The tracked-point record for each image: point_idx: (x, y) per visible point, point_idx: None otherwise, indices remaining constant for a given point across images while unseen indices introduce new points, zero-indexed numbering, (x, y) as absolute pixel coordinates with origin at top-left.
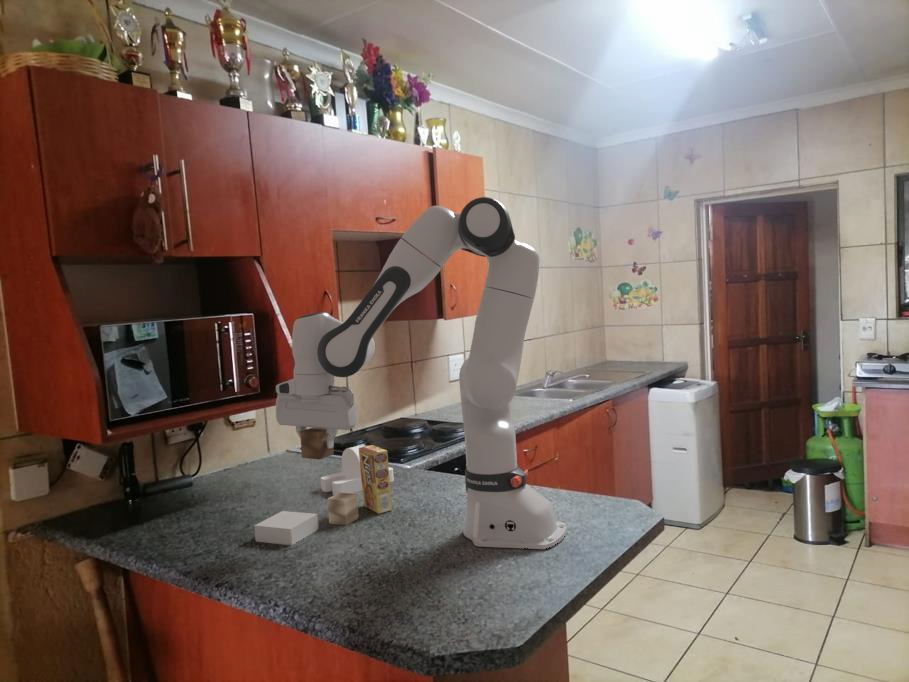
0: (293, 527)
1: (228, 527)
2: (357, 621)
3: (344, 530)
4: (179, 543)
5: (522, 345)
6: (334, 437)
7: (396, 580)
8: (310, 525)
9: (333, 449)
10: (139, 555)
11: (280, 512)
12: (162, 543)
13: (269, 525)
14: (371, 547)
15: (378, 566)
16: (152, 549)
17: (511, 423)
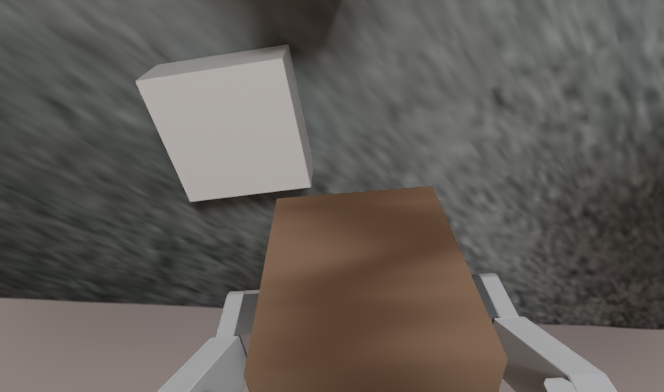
0: (307, 176)
1: (29, 138)
2: (622, 315)
3: (379, 18)
4: (60, 242)
5: None
6: (540, 333)
7: (658, 212)
8: (294, 93)
9: (441, 207)
10: (71, 296)
11: (145, 95)
12: (29, 253)
13: (229, 188)
14: (536, 98)
15: (597, 178)
16: (54, 275)
17: None
